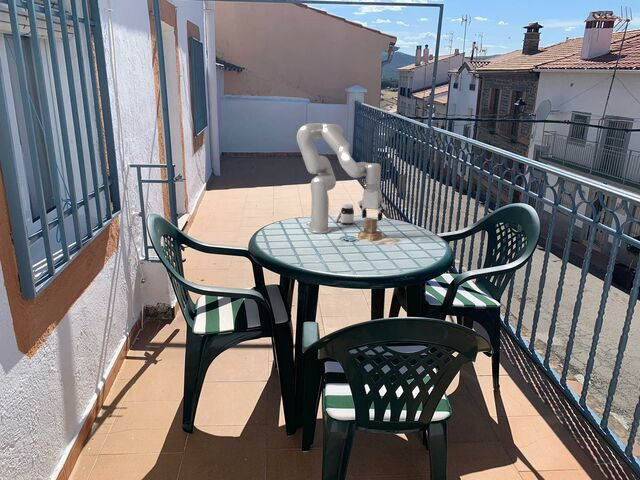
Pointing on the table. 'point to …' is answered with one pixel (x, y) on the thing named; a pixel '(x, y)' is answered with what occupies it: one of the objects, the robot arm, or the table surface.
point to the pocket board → (377, 238)
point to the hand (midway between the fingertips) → (372, 219)
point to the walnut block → (370, 225)
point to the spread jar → (346, 215)
